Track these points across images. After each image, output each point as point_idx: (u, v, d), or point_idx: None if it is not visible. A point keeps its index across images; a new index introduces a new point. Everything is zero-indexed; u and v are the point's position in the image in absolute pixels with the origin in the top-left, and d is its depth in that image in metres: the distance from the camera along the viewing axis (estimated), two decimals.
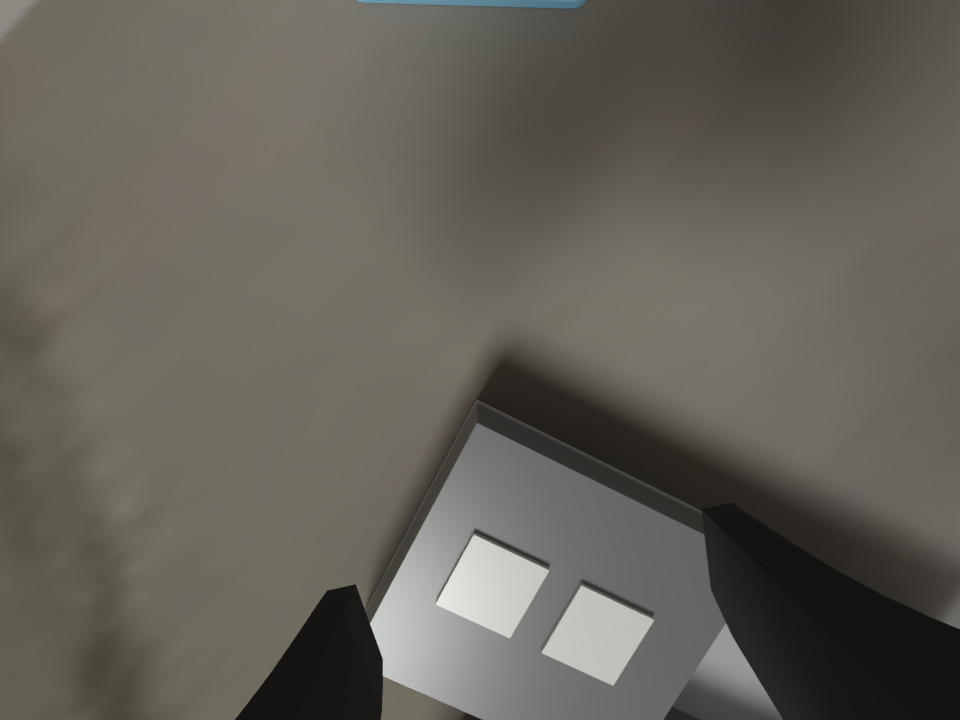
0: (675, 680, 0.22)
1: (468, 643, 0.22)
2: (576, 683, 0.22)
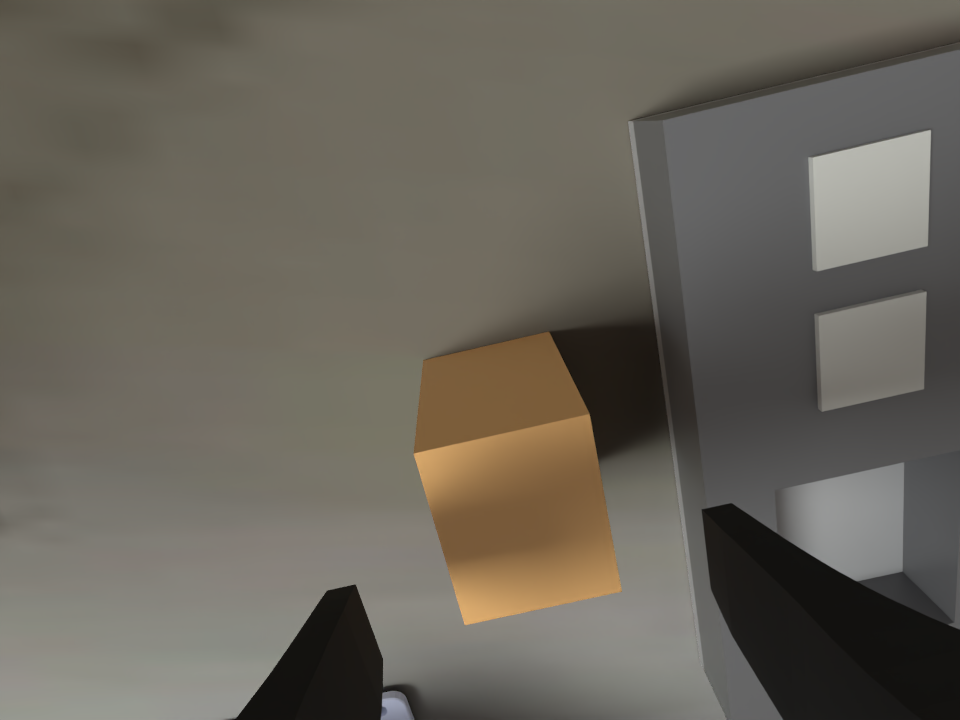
0: (856, 460, 0.18)
1: (774, 235, 0.16)
2: (794, 378, 0.17)
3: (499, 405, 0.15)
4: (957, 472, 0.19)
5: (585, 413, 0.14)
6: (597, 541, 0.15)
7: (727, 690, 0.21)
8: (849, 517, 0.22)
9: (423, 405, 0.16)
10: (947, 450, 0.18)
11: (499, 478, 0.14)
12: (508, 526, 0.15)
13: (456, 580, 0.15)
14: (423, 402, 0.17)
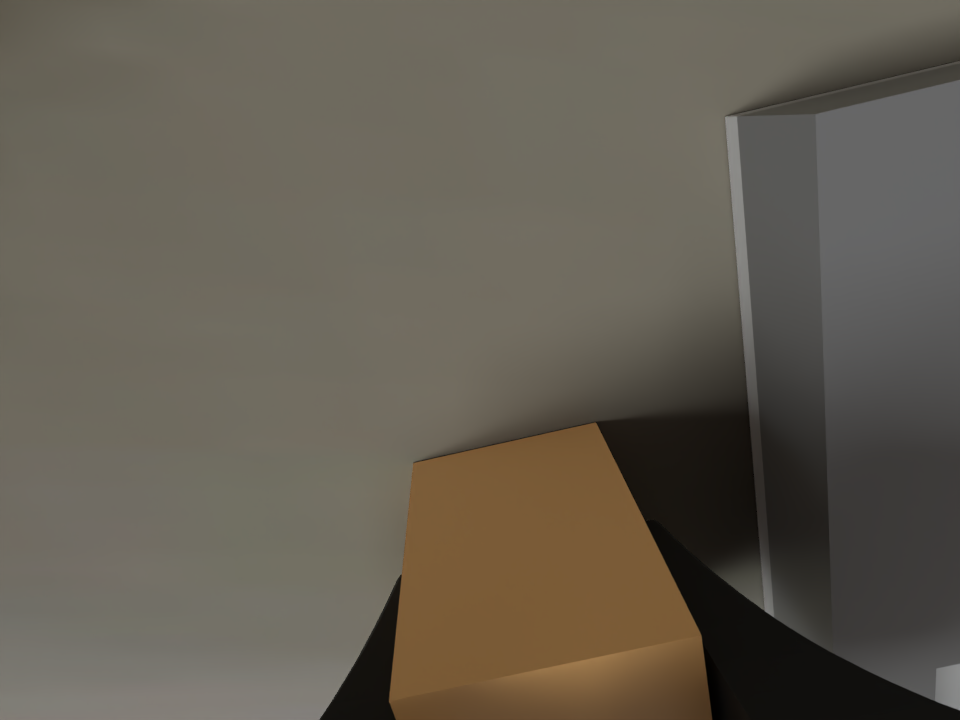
0: None
1: None
2: None
3: (533, 586, 0.09)
4: None
5: (692, 632, 0.08)
6: None
7: None
8: None
9: (410, 568, 0.10)
10: None
11: None
12: None
13: None
14: (410, 560, 0.11)
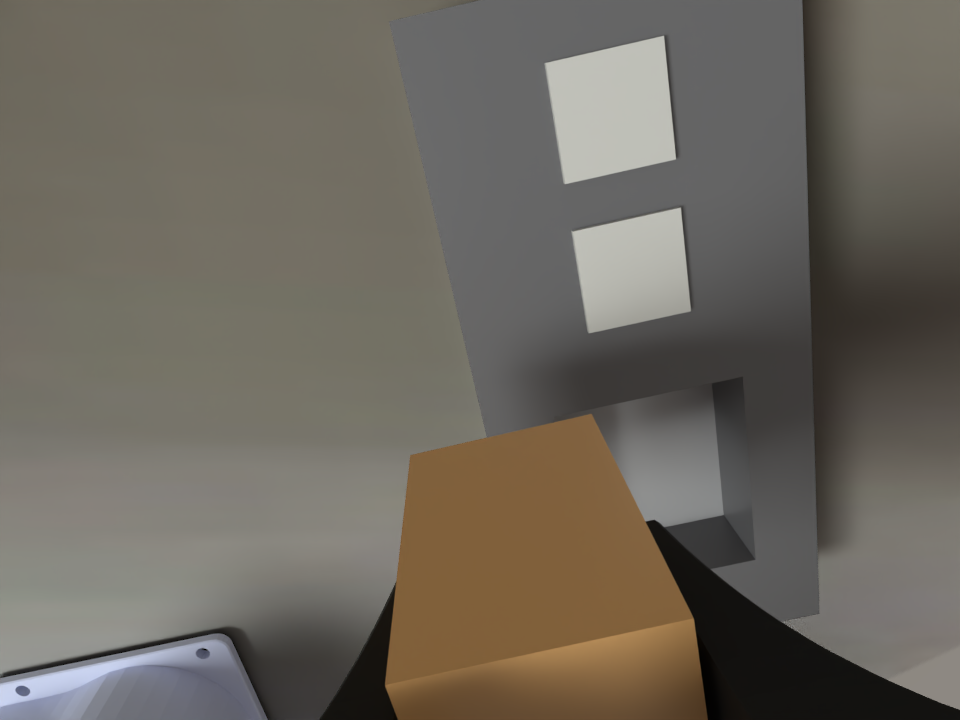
0: (633, 386, 0.18)
1: (519, 146, 0.16)
2: (559, 299, 0.17)
3: (529, 573, 0.09)
4: (741, 401, 0.19)
5: (685, 615, 0.08)
6: None
7: None
8: (663, 457, 0.22)
9: (406, 557, 0.10)
10: (726, 377, 0.18)
11: (533, 718, 0.08)
12: None
13: None
14: (406, 549, 0.11)
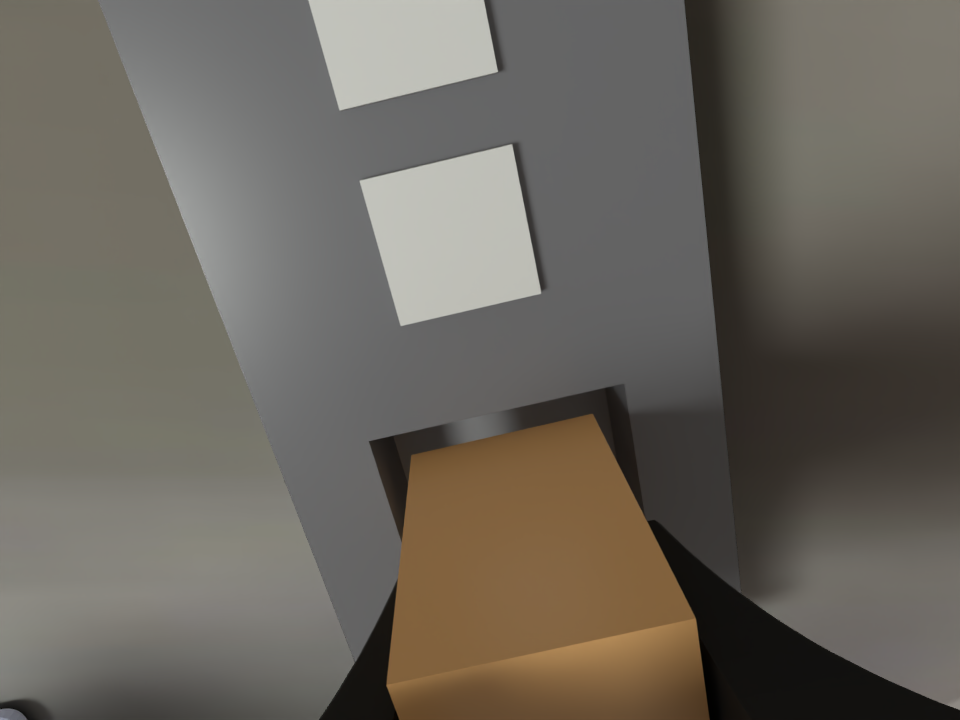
0: (474, 398, 0.13)
1: (269, 55, 0.11)
2: (355, 278, 0.12)
3: (529, 573, 0.09)
4: (627, 417, 0.14)
5: (687, 615, 0.08)
6: None
7: None
8: None
9: (407, 556, 0.10)
10: (602, 385, 0.13)
11: (535, 718, 0.08)
12: None
13: None
14: (408, 549, 0.11)
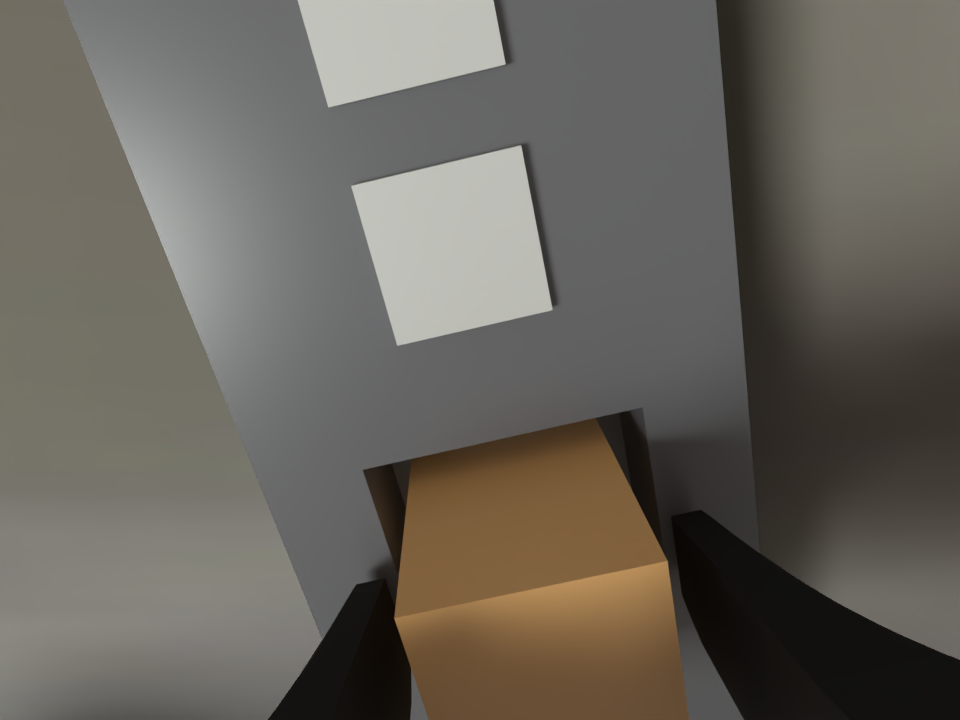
0: (478, 424, 0.12)
1: (250, 46, 0.10)
2: (347, 293, 0.11)
3: (522, 527, 0.10)
4: (645, 443, 0.13)
5: (660, 558, 0.09)
6: None
7: None
8: None
9: (412, 515, 0.11)
10: (618, 409, 0.12)
11: (525, 651, 0.09)
12: (537, 715, 0.10)
13: None
14: (412, 509, 0.12)
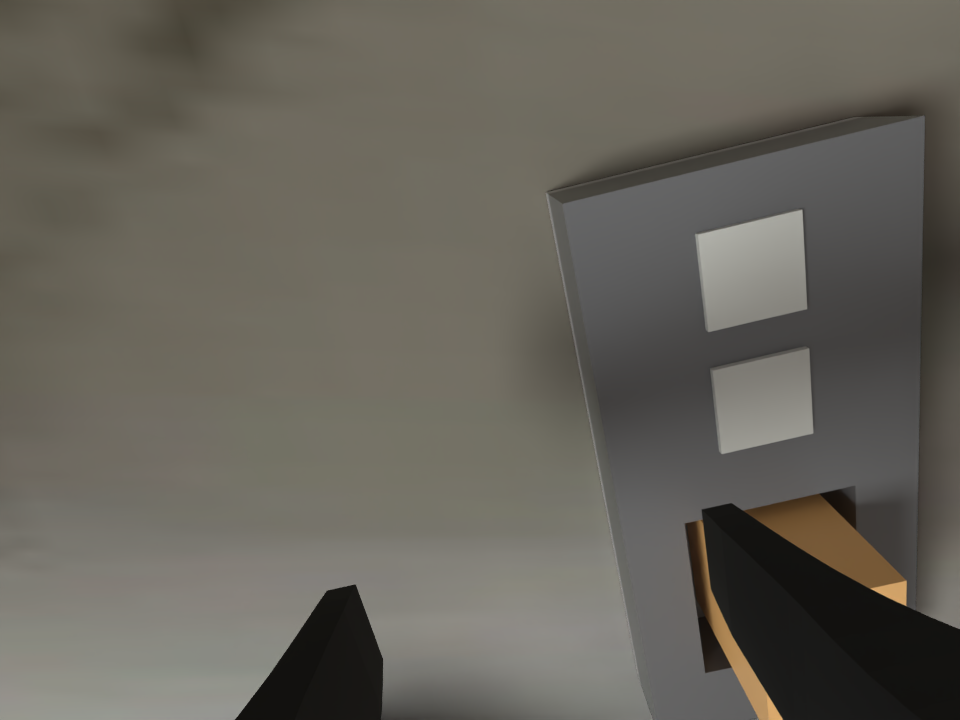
0: (757, 496, 0.20)
1: (668, 301, 0.18)
2: (695, 425, 0.19)
3: None
4: (852, 505, 0.21)
5: (901, 579, 0.17)
6: None
7: (653, 702, 0.23)
8: None
9: None
10: (840, 486, 0.20)
11: None
12: None
13: (771, 707, 0.18)
14: None
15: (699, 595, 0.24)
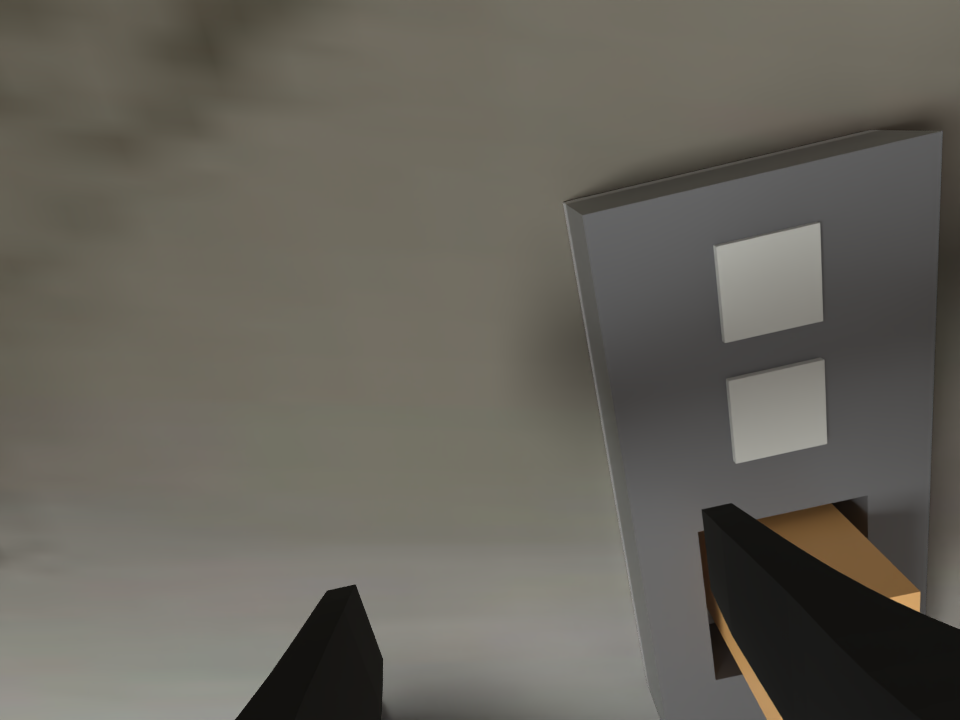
0: (770, 505, 0.20)
1: (686, 312, 0.18)
2: (710, 434, 0.19)
3: None
4: (863, 515, 0.21)
5: (915, 590, 0.17)
6: None
7: (663, 709, 0.23)
8: None
9: None
10: (853, 496, 0.20)
11: None
12: None
13: None
14: None
15: (709, 602, 0.24)
